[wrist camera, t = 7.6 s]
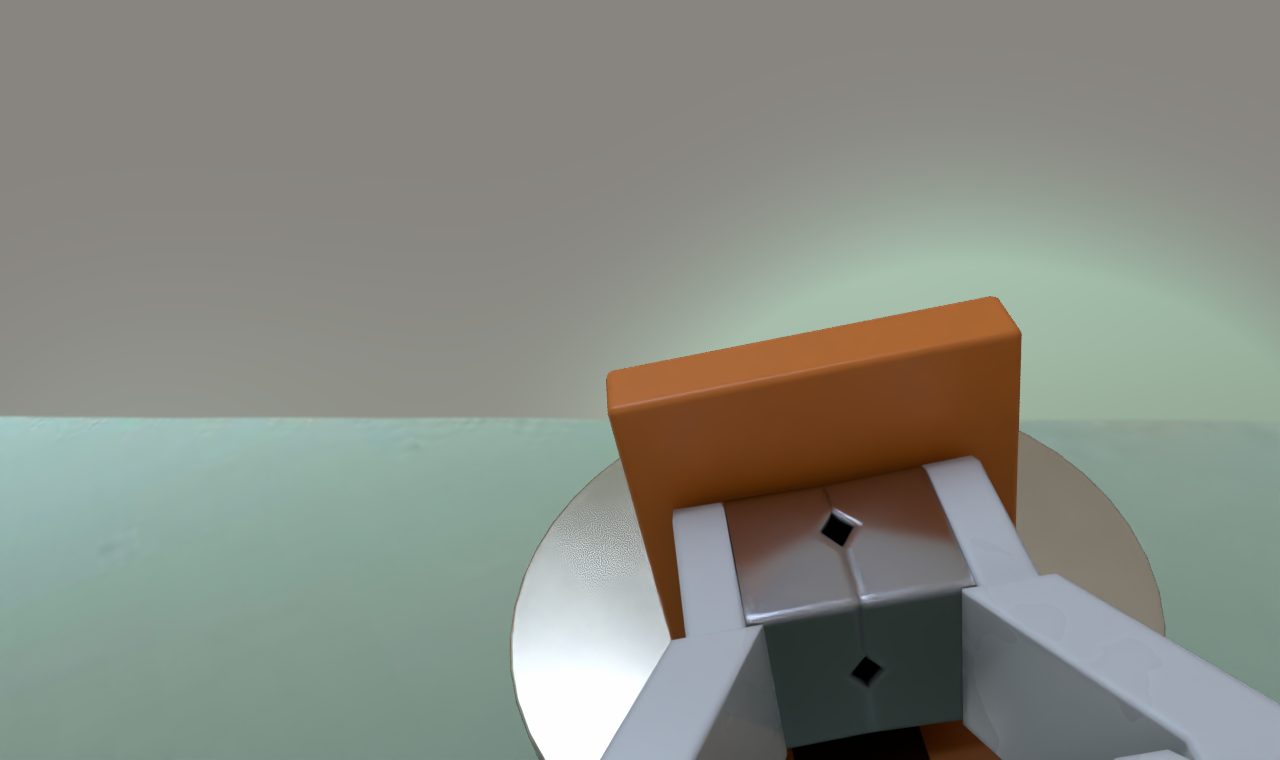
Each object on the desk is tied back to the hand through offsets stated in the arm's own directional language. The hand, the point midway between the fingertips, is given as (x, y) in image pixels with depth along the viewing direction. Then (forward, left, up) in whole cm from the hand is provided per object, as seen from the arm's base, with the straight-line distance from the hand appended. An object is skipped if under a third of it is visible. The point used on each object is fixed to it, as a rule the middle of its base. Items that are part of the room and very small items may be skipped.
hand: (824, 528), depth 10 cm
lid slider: (0, +2, -4) cm, 4 cm away
